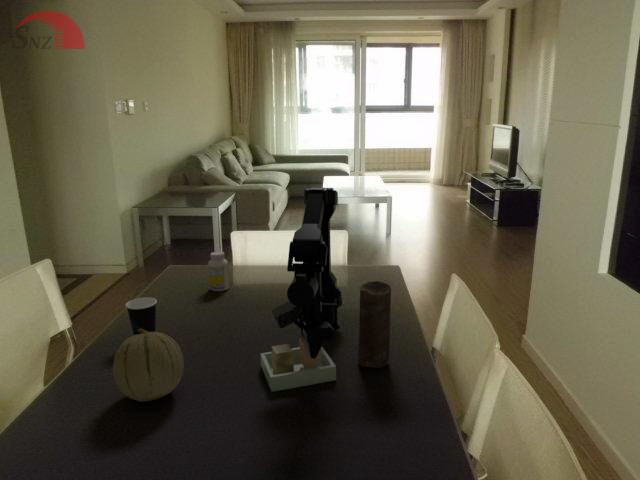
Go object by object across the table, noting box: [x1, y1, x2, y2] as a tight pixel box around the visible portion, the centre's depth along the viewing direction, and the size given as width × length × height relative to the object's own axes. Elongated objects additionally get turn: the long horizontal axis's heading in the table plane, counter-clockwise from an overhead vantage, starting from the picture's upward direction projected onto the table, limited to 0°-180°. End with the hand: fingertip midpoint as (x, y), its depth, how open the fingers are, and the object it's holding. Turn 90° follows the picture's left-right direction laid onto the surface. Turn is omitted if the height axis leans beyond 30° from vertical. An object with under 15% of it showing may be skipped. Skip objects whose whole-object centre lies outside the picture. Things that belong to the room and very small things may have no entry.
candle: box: [357, 280, 392, 370], centre depth 122 cm, size 8×7×20 cm
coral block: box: [299, 336, 321, 368], centre depth 121 cm, size 4×4×6 cm
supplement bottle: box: [208, 251, 231, 292], centre depth 178 cm, size 7×7×13 cm
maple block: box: [271, 343, 294, 375], centre depth 119 cm, size 4×4×6 cm
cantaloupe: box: [112, 329, 185, 403], centre depth 111 cm, size 15×15×15 cm
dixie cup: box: [125, 296, 158, 336], centre depth 139 cm, size 8×8×11 cm
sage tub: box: [260, 346, 337, 393], centre depth 121 cm, size 15×12×4 cm
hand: (310, 353), depth 121 cm, fingers open, 5 cm apart
